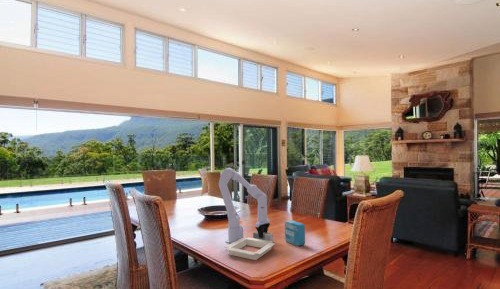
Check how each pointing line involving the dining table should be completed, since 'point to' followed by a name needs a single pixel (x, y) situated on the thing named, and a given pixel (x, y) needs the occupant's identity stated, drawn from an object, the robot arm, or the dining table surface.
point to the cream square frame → (263, 244)
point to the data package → (295, 233)
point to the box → (264, 236)
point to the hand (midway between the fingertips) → (262, 236)
